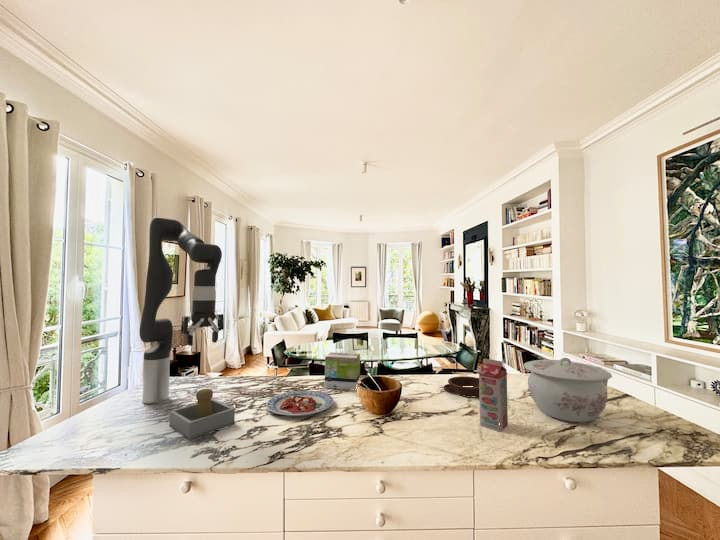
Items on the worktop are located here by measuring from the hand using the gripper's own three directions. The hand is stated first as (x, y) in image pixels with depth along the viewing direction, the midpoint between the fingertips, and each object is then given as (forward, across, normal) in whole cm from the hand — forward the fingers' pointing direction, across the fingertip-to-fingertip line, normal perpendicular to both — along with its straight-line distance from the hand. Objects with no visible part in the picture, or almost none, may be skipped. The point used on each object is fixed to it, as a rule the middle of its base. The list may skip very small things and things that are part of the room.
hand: (202, 343), depth 117 cm
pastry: (+27, 0, -6) cm, 28 cm away
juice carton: (+24, -61, +83) cm, 106 cm away
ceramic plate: (+26, -30, +19) cm, 44 cm away
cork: (+26, +1, +6) cm, 27 cm away
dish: (+24, -89, +64) cm, 112 cm away
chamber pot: (+23, -87, +100) cm, 135 cm away
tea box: (+26, -59, +15) cm, 66 cm away
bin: (+26, +2, +7) cm, 27 cm away
